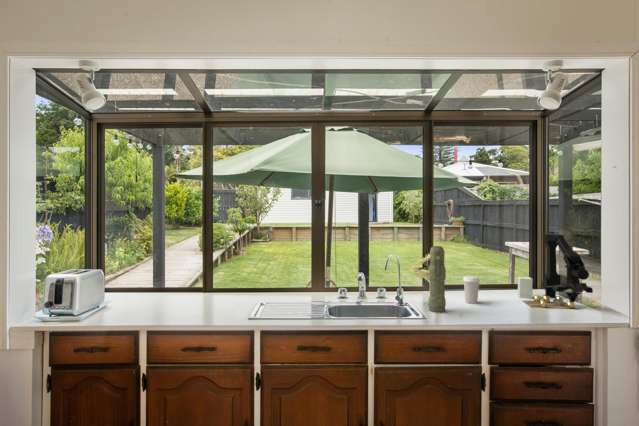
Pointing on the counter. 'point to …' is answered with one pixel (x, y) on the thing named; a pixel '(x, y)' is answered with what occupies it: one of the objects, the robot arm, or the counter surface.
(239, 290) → the counter surface
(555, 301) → the steel nut
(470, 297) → the coffee cup
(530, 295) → the supplement box
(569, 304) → the brass spacers
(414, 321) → the counter surface
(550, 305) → the walnut board
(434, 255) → the green bumpy column
